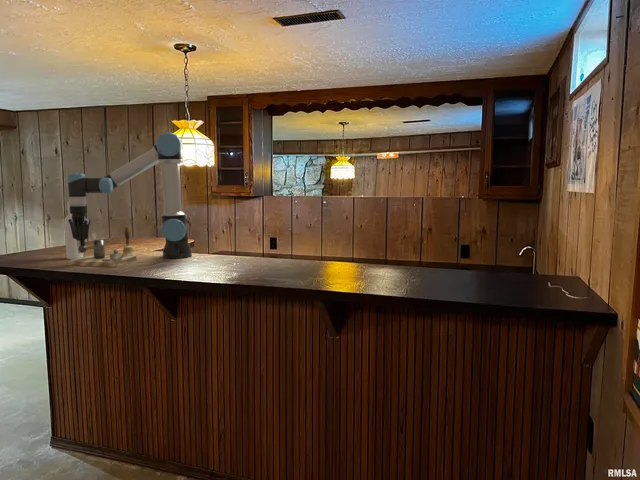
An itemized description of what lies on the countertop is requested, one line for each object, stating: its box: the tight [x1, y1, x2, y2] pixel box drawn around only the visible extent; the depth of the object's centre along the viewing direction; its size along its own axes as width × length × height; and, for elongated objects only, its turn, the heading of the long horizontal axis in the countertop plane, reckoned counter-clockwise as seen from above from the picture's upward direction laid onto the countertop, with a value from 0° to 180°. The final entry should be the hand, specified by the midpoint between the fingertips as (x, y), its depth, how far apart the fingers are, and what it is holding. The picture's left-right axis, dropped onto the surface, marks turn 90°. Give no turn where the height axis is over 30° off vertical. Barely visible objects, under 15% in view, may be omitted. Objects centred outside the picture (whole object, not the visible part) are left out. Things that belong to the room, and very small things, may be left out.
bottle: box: [63, 201, 84, 260], centre depth 238 cm, size 8×8×30 cm
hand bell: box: [121, 226, 138, 257], centre depth 245 cm, size 8×8×16 cm
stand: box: [66, 249, 137, 268], centre depth 227 cm, size 26×18×8 cm
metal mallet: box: [78, 238, 106, 258], centre depth 224 cm, size 15×5×9 cm, turn 164°
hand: (81, 253), depth 223 cm, fingers closed
